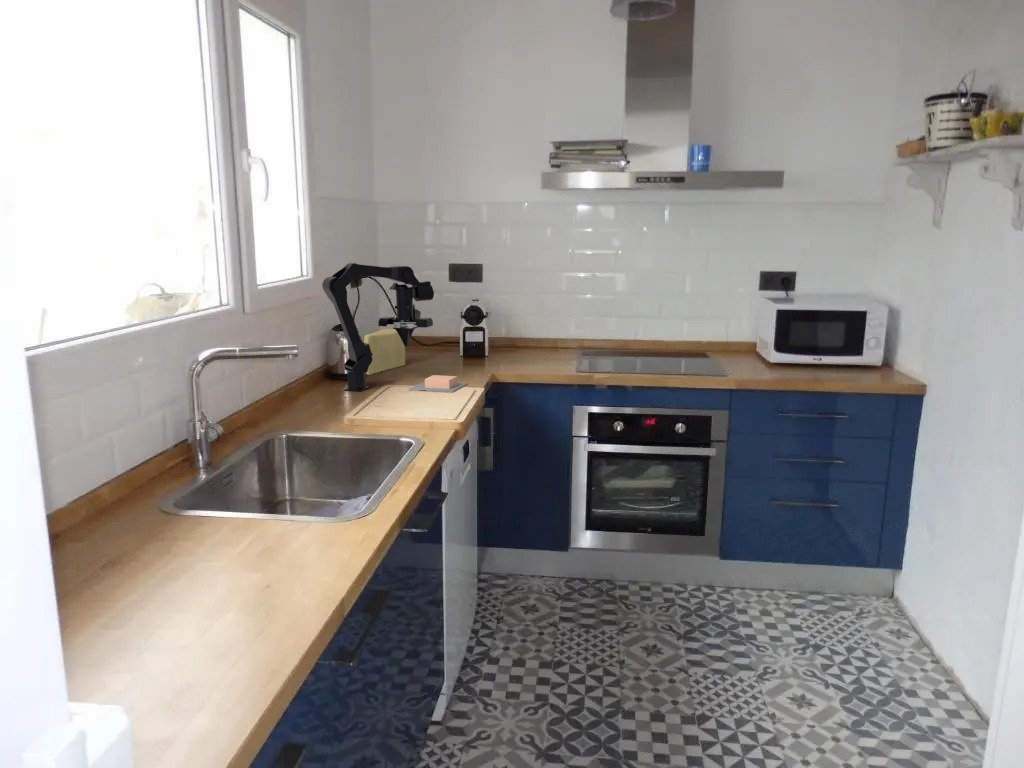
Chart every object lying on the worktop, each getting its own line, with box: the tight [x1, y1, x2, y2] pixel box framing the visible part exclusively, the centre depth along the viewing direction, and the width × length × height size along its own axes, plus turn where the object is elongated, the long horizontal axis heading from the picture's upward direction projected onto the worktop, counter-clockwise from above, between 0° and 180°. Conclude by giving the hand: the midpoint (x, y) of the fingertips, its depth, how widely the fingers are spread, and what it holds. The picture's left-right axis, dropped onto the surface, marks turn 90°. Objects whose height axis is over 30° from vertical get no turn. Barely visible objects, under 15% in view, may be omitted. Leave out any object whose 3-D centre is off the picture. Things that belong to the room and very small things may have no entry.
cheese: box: [363, 328, 406, 376], centre depth 292 cm, size 22×10×15 cm, turn 159°
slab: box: [424, 374, 458, 389], centre depth 259 cm, size 7×3×9 cm
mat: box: [408, 381, 468, 393], centre depth 260 cm, size 14×16×1 cm
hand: (406, 346), depth 266 cm, fingers closed
